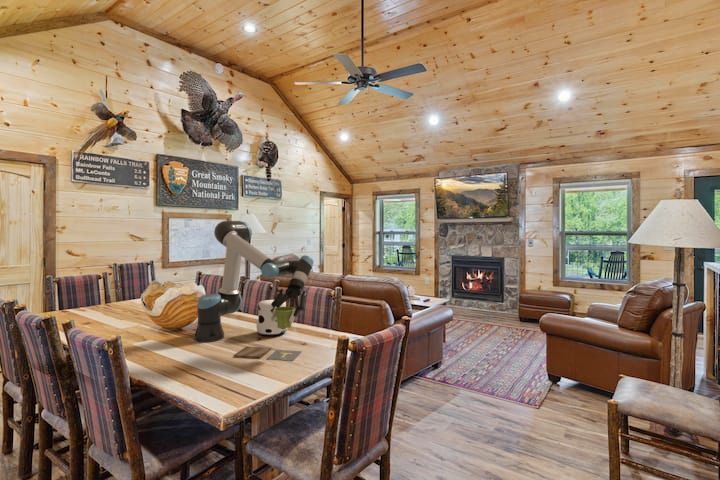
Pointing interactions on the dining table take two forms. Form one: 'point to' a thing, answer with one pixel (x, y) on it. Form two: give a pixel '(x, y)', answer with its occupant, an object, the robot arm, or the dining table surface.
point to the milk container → (268, 319)
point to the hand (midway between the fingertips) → (281, 320)
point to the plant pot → (283, 316)
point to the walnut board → (252, 352)
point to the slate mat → (284, 355)
